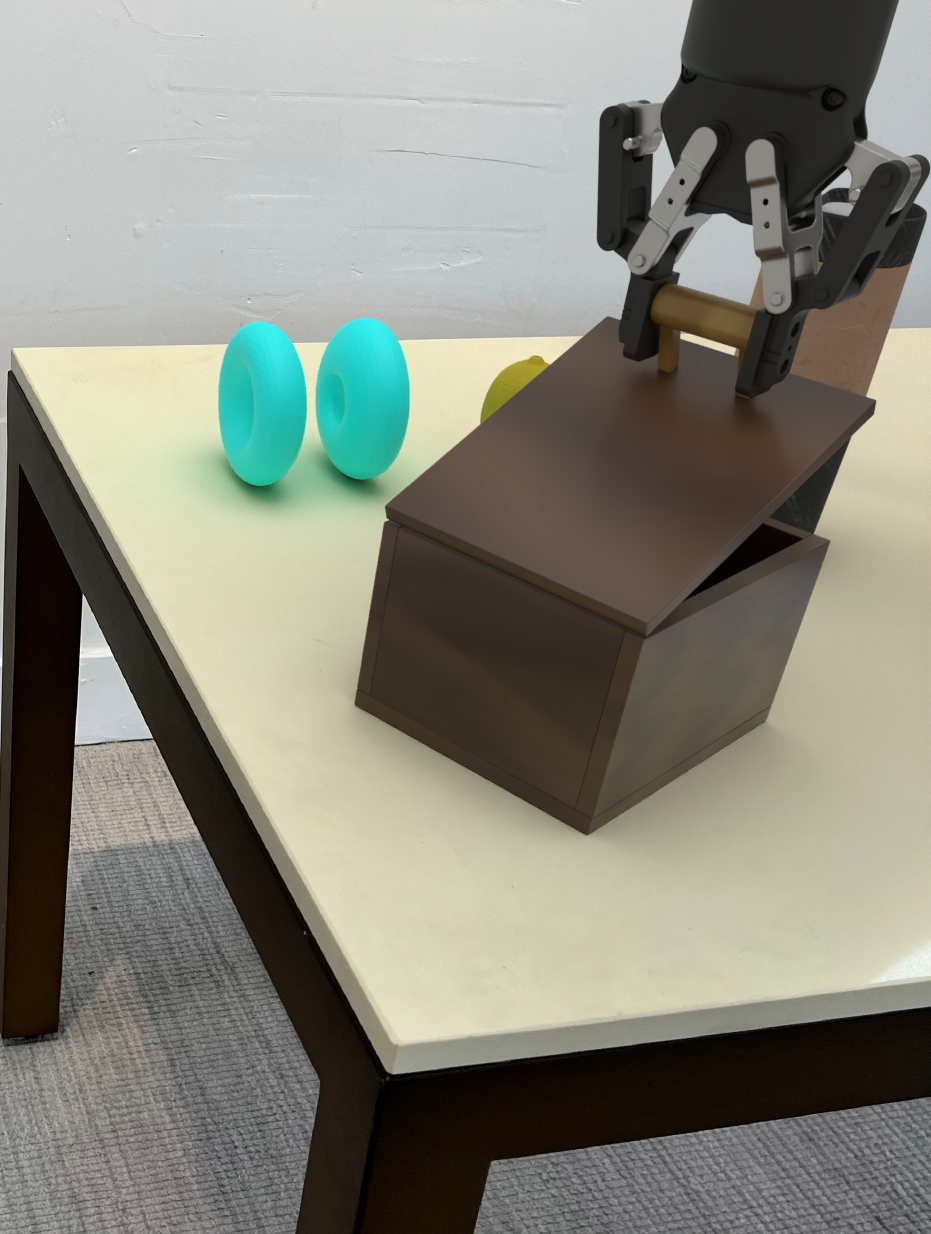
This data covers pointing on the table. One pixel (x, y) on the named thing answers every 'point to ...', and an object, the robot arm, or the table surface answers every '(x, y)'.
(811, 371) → the travel mug
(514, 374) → the lemon
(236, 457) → the donuts
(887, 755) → the table surface
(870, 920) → the table surface
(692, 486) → the lid
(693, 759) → the chest
